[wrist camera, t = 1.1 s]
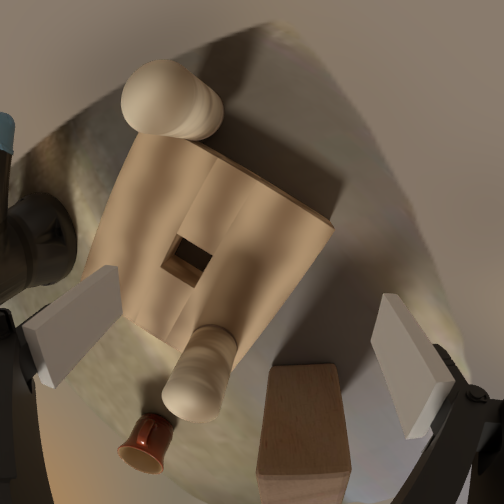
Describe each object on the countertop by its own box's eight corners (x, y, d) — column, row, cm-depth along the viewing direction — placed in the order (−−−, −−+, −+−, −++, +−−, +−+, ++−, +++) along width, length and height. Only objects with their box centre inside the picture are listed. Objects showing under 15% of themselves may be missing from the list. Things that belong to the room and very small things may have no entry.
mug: (176, 442, 53) (162, 479, 43) (137, 427, 53) (118, 462, 44) (183, 407, 49) (165, 449, 39) (138, 391, 49) (115, 429, 40)
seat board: (97, 272, 43) (29, 320, 28) (162, 122, 35) (88, 107, 20) (232, 356, 44) (208, 438, 29) (329, 220, 37) (355, 264, 22)
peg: (175, 128, 36) (108, 116, 21) (199, 86, 34) (145, 49, 19) (216, 151, 36) (168, 148, 21) (241, 108, 34) (209, 76, 19)
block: (268, 363, 44) (253, 475, 25) (336, 360, 43) (353, 471, 24) (272, 408, 47) (261, 511, 28) (333, 406, 45) (342, 508, 26)
